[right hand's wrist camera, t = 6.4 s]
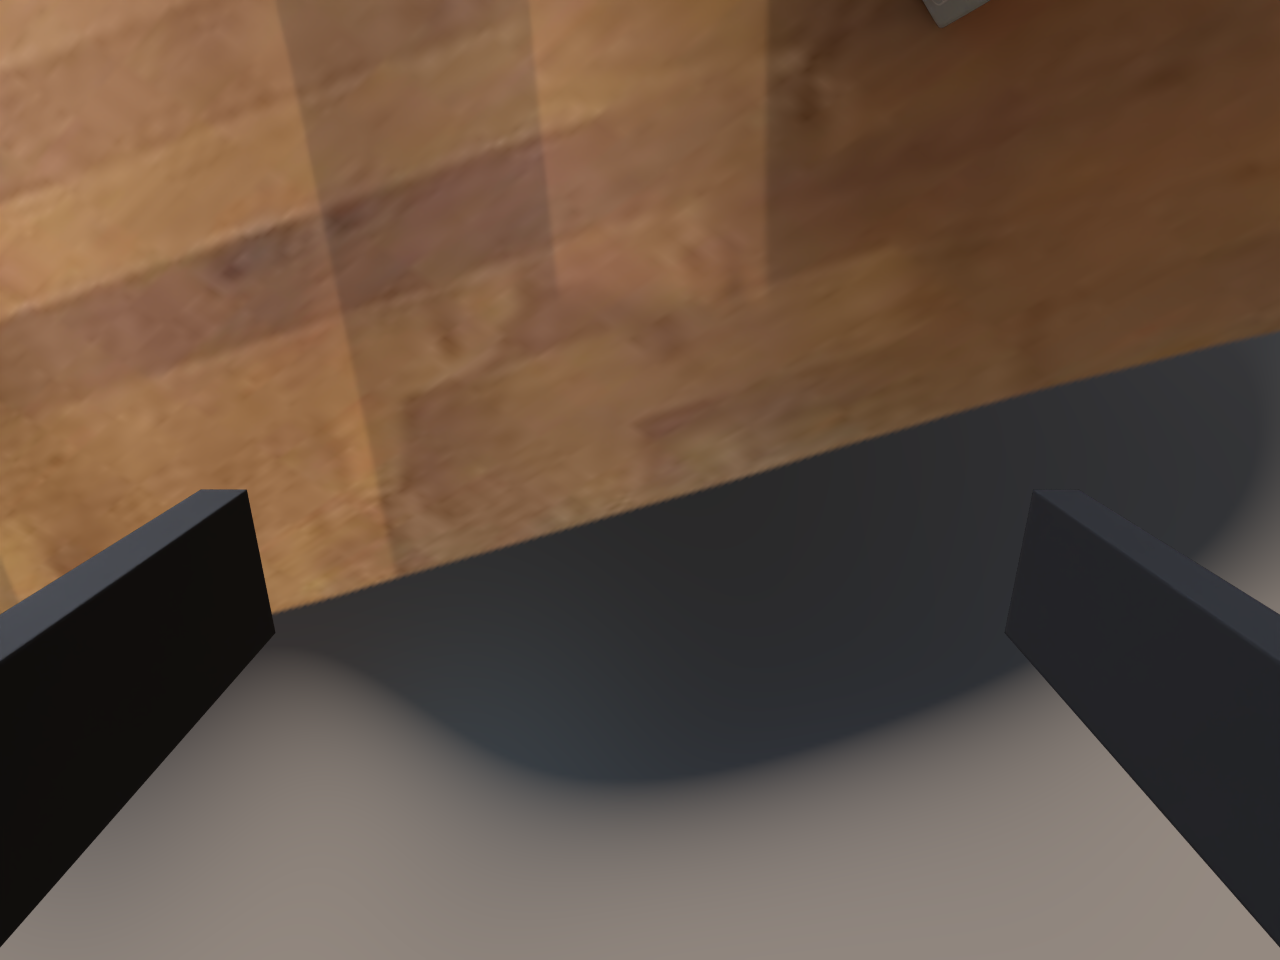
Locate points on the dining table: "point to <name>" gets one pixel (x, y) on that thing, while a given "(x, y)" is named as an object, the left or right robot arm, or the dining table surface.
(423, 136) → the dining table surface
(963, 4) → the hard drive box
